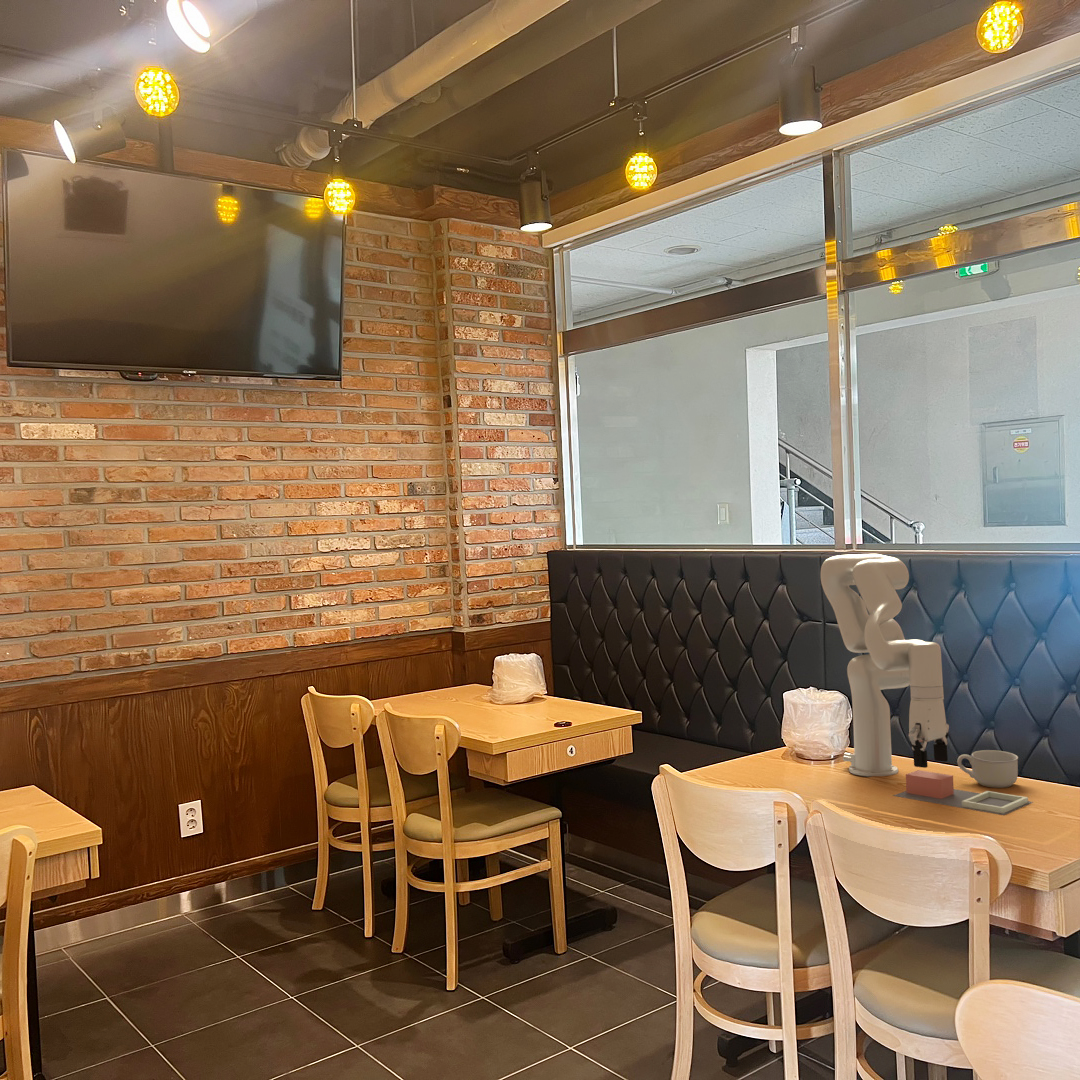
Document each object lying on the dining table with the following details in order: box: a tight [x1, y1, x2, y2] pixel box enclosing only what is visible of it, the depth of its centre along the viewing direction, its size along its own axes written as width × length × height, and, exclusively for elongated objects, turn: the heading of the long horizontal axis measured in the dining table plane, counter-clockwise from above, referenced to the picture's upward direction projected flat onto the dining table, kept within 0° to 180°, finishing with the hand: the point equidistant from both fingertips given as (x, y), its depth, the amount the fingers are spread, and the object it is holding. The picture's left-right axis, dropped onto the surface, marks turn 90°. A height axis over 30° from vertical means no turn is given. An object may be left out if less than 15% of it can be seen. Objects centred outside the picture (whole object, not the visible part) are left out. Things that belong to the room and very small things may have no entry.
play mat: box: [892, 788, 1034, 816], centre depth 244 cm, size 27×15×1 cm, turn 41°
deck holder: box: [962, 790, 1029, 814], centre depth 238 cm, size 10×13×1 cm
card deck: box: [905, 769, 955, 799], centre depth 250 cm, size 9×6×4 cm, turn 41°
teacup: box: [956, 749, 1019, 789], centre depth 257 cm, size 14×11×8 cm
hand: (931, 763), depth 249 cm, fingers open, 9 cm apart
